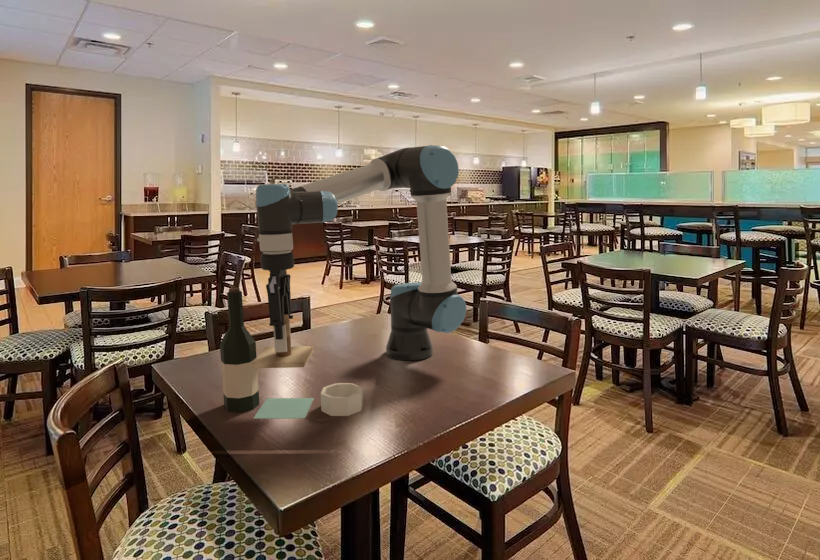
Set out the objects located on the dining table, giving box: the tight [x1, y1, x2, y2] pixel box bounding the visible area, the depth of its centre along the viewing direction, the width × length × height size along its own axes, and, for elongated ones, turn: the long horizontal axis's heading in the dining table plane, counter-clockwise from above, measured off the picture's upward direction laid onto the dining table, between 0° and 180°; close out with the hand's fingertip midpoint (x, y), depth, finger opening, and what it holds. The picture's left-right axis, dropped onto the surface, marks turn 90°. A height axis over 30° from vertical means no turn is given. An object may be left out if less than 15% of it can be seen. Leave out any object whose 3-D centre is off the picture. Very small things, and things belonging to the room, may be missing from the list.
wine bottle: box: [219, 287, 260, 414], centre depth 130 cm, size 8×8×30 cm
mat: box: [253, 397, 315, 420], centre depth 131 cm, size 12×12×1 cm
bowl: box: [320, 382, 364, 417], centre depth 130 cm, size 10×10×5 cm
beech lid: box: [251, 314, 314, 369], centre depth 128 cm, size 12×12×11 cm
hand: (283, 348), depth 128 cm, fingers closed on beech lid, 4 cm apart
